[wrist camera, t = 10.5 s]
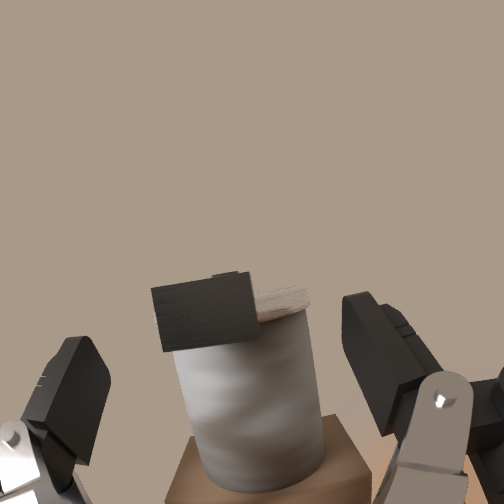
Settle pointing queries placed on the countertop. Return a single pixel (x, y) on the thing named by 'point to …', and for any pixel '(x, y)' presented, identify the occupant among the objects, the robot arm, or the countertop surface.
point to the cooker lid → (219, 310)
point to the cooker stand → (263, 426)
